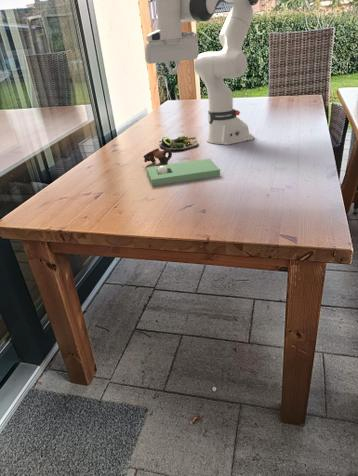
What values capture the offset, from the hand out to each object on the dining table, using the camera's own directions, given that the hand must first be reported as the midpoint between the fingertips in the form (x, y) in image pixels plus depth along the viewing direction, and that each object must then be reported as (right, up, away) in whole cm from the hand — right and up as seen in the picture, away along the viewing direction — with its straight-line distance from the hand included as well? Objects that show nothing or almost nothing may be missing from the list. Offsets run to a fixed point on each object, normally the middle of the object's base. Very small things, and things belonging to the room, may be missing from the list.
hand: (173, 74), depth 146 cm
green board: (+4, -39, 0) cm, 39 cm away
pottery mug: (-6, -33, +12) cm, 36 cm away
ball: (-4, -38, -1) cm, 38 cm away
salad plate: (+2, -20, +35) cm, 40 cm away
